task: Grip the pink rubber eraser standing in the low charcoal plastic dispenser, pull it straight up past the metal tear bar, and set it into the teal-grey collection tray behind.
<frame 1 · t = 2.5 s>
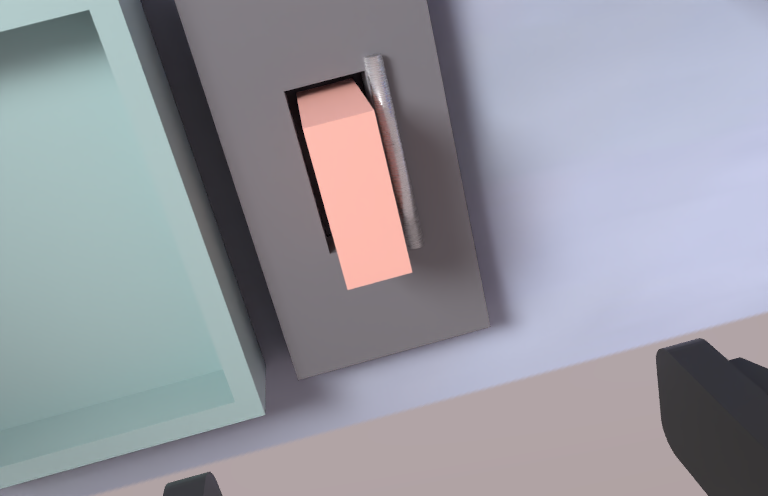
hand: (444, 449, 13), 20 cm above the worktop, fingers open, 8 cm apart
pink rubber eraser: (341, 153, 31), resting in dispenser
tray: (19, 239, 31), on the worktop
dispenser: (341, 154, 31), on the worktop
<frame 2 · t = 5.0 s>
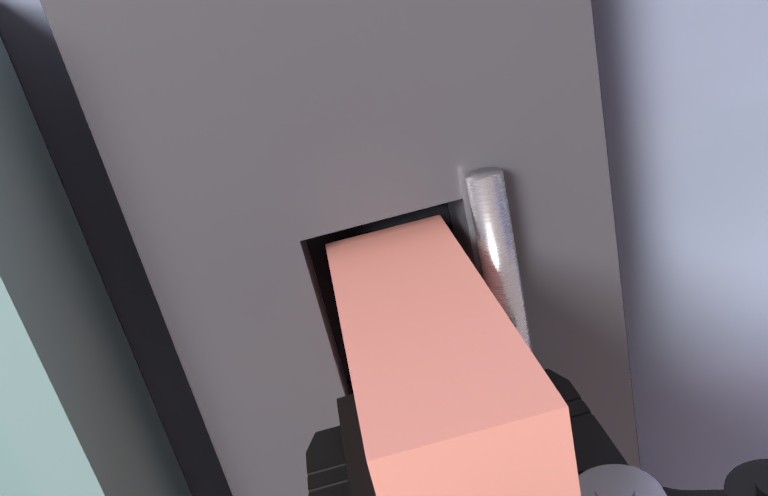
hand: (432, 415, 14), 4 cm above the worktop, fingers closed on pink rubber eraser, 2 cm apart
pink rubber eraser: (411, 354, 16), point 1 cm above the worktop, touching gripper
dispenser: (402, 328, 17), on the worktop
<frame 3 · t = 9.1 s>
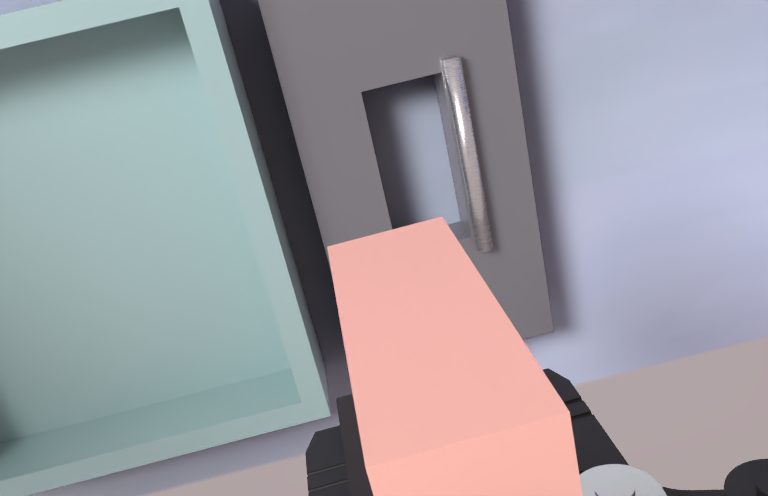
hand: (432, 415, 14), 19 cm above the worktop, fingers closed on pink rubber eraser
pink rubber eraser: (415, 356, 16), point 16 cm above the worktop, touching gripper
tray: (88, 235, 31), on the worktop
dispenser: (410, 155, 31), on the worktop
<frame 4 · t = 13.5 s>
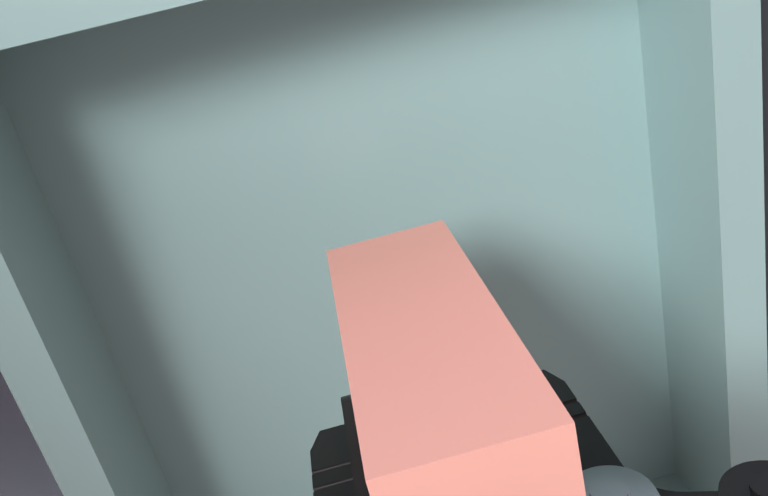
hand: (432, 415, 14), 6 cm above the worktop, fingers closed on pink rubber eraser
pink rubber eraser: (415, 361, 16), point 4 cm above the worktop, touching gripper
tray: (387, 284, 19), on the worktop
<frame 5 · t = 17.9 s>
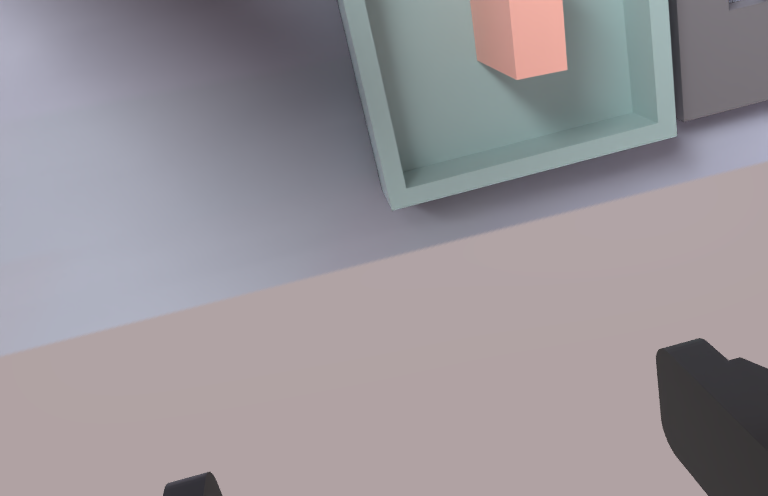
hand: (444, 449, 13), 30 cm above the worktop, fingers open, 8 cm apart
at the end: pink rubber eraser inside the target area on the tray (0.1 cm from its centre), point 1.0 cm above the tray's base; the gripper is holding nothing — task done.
